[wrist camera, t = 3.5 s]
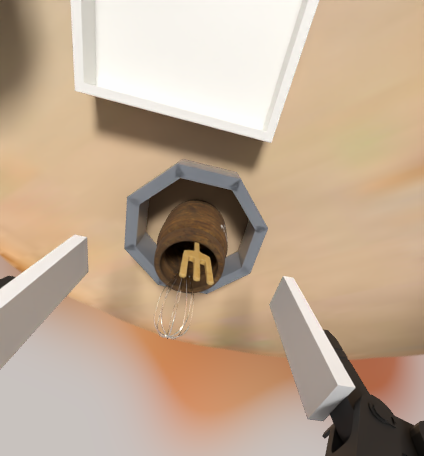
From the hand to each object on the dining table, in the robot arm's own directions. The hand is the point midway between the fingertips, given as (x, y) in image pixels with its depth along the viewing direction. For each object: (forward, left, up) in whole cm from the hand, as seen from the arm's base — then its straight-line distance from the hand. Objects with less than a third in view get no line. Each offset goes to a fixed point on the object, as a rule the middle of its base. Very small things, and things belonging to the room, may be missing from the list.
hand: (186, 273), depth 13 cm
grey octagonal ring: (0, 0, -8) cm, 8 cm away
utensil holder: (0, 0, -8) cm, 8 cm away
